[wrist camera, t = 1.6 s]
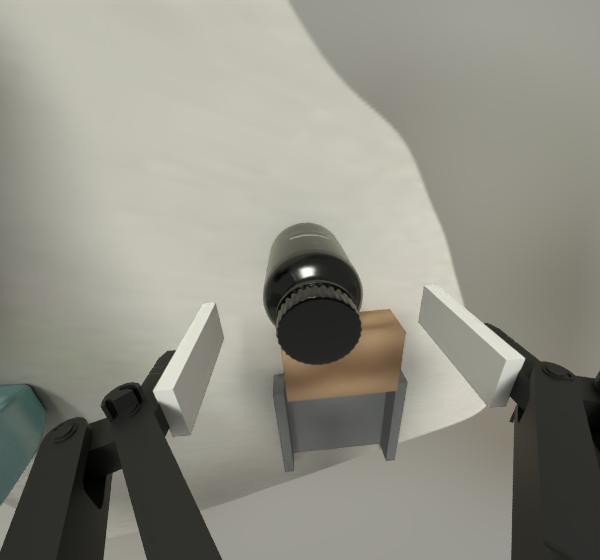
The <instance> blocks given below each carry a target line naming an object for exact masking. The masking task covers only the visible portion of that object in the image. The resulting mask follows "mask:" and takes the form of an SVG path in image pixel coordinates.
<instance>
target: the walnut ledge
mask: <svg viewBox="0 0 600 560" xmlns="http://www.w3.org/2000/svg"><path fill="white" fill-rule="evenodd" d="M359 316H360V318H361V321H362V324H361V326H362V331H361V337H360V338H359V342H358V343H357V344H356V345H355V348H354V349H353V350H351V352H350V353H349V354H348V355H345V357H344V358H342V359H339V360H338V361H336V362H332V363H330V364H323V365H311V364H304V363H302V362H298V361H296V360H295V359H292V358H291V357H290V356H288V355H286V353H285V351H283V350H282V349H281V352H282V360H283V368H284V376H285V384H286V392H287V400H288V402H292V401H302V400H312V399H322V398H332V397H342V396H352V395H361V394H371V393H381V392H391V391H397V389H398V382H399V375H400V368H401V361H402V354H403V347H404V340H405V333H406V332H405V330H404V329H403V327H402V326H401V325H400V323H399V322H398V320H397V319H396V317H395V316H394V315H393V313H392V312H391V310H390V309H388V310H377V311H366V312H359Z"/></svg>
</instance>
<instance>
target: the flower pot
mask: <svg viewBox="0 0 600 560" xmlns="http://www.w3.org/2000/svg"><path fill="white" fill-rule="evenodd" d="M45 420H46V411H45V409H44V408H43V406H42V405H41V403H40V402H39V400H38V399H37V397H36V395H35V394H34V392H33V391H32V389H31V387H30V386H28V385H25V384H21V385H1V386H0V506H1V505H2V503H3V502H4V500H5V499H6V497H7V496H8V494H9V493H10V491H11V490H12V488H13V487H14V485H15V484H16V482H17V481H18V479H19V477H20V476H21V474H22V473H23V471H24V470H25V468H26V467H27V465H28V464H29V462H30V461H31V459H32V457H33V456H34V454H35V452H36V450H37V448H38V446H39V444H40V441H41V438H42V435H43V432H44V427H45Z"/></svg>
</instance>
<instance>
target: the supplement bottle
mask: <svg viewBox="0 0 600 560" xmlns="http://www.w3.org/2000/svg"><path fill="white" fill-rule="evenodd" d="M362 299H363V289H362V284H361V281H360V278H359V276H358V274H357V272H356V270H355V268H354V267H353V265H352V263H351V262H350V260H349V259H348V257H347V255H346V254H345V252H344V250H343V249H342V247H341V245H340V244H339V242H338V241H337V239H336V238H335V236H334V235H333V234H332V233H331V232H330V231H329V230H327V229H326V228H324V227H322V226H320V225H317V224H313V223H300V224H296V225H293V226H291V227H289V228H287V229H285V230H284V231H283V232H281V233H280V234H279V235H278V237H277V238H276V239H275V241H274V243H273V245H272V248H271V251H270V256H269V261H268V267H267V273H266V279H265V284H264V291H263V302H264V308H265V311H266V313H267V316H268V317H269V319H270V321H271V322H272V323H273V325H274V326H275V327H276V336H277V338H278V343H279V344H280V345H281V349H282V350H283V351H285V353H286V355H288V356H290V357H291V358H292V359H295V360H296V361H298V362H302V363H304V364H311V365H323V364H330V363H332V362H336V361H338V360H339V359H342V358H344V357H345V355H348V354H349V353H350V352H351V350H353V349H354V348H355V345H356V344H357V343H358V342H359V338H360V337H361V331H362V326H361V324H362V321H361V318H360V316H359V311H360V308H361V305H362Z"/></svg>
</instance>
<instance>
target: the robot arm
mask: <svg viewBox="0 0 600 560" xmlns="http://www.w3.org/2000/svg"><path fill="white" fill-rule="evenodd" d="M418 322H419V323H420V325H421V326H422V327H423V328H424V329H425V331H426V332H427V333H428V334H429V335H430V337H431V338H432V339H433V340H434V342H435V343H436V344H437V345H438V346H439V348H440V349H441V350H442V351H443V353H444V354H445V355H446V356H447V357H448V359H449V360H450V361H451V362H452V364H453V365H454V366H455V367H456V368H457V370H458V371H459V372H460V373H461V375H462V376H463V377H464V378H465V379H466V381H467V382H468V383H469V384H470V386H471V387H472V388H473V389H474V390H475V392H476V393H477V394H478V395H479V397H480V398H481V399H482V400H483V401H484V403H485V404H486V405H487V406H488V407H489V408H493V407H504V406H506V405H507V402H508V400H509V398H510V397H511V398H512V399H513V400H514V401H515V402H516V403H517V405H516V407H515V410H514V412H513V415H512V417H511V420H510V422H512V423H513V421H514V460H513V505H512V506H513V507H512V508H513V509H512V550H511V560H600V371H599V373H598V375H597V376H596V378H588V377H580V376H575V375H574V374H573V373H571V372H570V371H569V370H567V369H565V368H564V367H562V366H559V365H557V364H554V363H550V362H541V361H539V360H538V359H537V358H536V357H534V356H533V355H532V354H530V353H529V352H528V351H527V350H525V349H524V348H523V347H522V346H520V345H519V344H518V343H516V342H515V341H514V340H513V339H511V338H510V337H508V336H507V335H506V334H505V333H504V332H503V331H501V330H500V329H499V328H496V327H495V326H492V325H491V324H488V323H484V324H483V323H482V322H481V321H479V320H478V319H477V318H476V317H475V316H474V315H472V314H471V313H470V312H469V311H468V310H466V309H465V308H464V307H463V306H461V305H460V304H459V303H458V302H457V301H455V300H454V299H453V298H452V297H451V296H449V295H448V294H447V293H446V292H445V291H443V290H442V289H441V288H440V287H439V286H437V285H424V289H423V296H422V302H421V308H420V314H419V321H418ZM223 340H224V336H223V331H222V327H221V323H220V319H219V315H218V311H217V306H216V303H205V304H203V305H202V307H201V308H200V310H199V312H198V314H197V315H196V317H195V319H194V320H193V322H192V324H191V326H190V327H189V329H188V331H187V333H186V334H185V336H184V338H183V340H182V341H181V343H180V345H179V347H178V348H177V350H174V351H167V352H166V353H164V354H163V355H162V356H161V357H160V358H159V359H158V360H157V362H156V364H155V365H154V368H152V370H151V371H150V373H149V375H148V376H147V378H146V379H145V381H144V382H143V384H142V385H140V384H138V383H134V382H132V383H126V384H123V385H121V386H118V387H117V388H115V389H114V390H112V391H111V392H110V393H108V394H107V395H106V396H105V398H104V399H103V401H102V403H101V408H102V410H103V411H104V413H105V415H106V417H107V418H105V419H102V420H99V421H96V422H93V423H90V424H88V422H87V421H86V419H84V418H83V417H76V418H72V419H69V420H67V421H65V422H63V423H61V424H59V425H58V426H56V427H55V428H54V429H52V430H51V431H50V432H49V433H48V434H47V435H46V436H45V438H44V439H43V441H42V443H41V445H40V448H39V450H38V453H37V455H36V458H35V461H34V463H33V466H32V469H31V471H30V474H29V477H28V479H27V482H26V485H25V487H24V490H23V493H22V495H21V498H20V500H19V503H18V506H17V508H16V511H15V514H14V517H13V519H12V522H11V524H10V527H9V530H8V532H7V535H6V538H5V540H4V543H3V546H2V548H1V551H0V560H103V557H104V548H105V539H106V529H107V520H108V510H109V501H110V491H111V482H112V473H113V472H115V471H118V470H120V469H123V473H124V477H125V480H126V484H127V488H128V491H129V495H130V499H131V503H132V506H133V510H134V514H135V517H136V521H137V525H138V528H139V532H140V536H141V540H142V543H143V547H144V551H145V554H146V557H147V560H222V558H221V556H220V554H219V552H218V550H217V548H216V545H215V543H214V541H213V539H212V537H211V535H210V533H209V530H208V528H207V526H206V524H205V522H204V520H203V518H202V515H201V513H200V511H199V509H198V507H197V505H196V503H195V500H194V498H193V496H192V494H191V492H190V490H189V488H188V485H187V483H186V481H185V479H184V477H183V475H182V473H181V471H180V468H179V466H178V464H177V462H176V460H175V458H174V456H173V453H172V451H171V449H170V447H169V445H168V443H167V441H166V438H165V436H166V434H167V432H168V429H170V432H171V434H172V436H173V437H175V436H186V435H191V432H192V429H193V427H194V424H195V421H196V418H197V415H198V412H199V409H200V406H201V403H202V401H203V398H204V395H205V392H206V389H207V386H208V383H209V380H210V378H211V375H212V372H213V369H214V366H215V363H216V360H217V357H218V354H219V352H220V349H221V346H222V343H223Z"/></svg>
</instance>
